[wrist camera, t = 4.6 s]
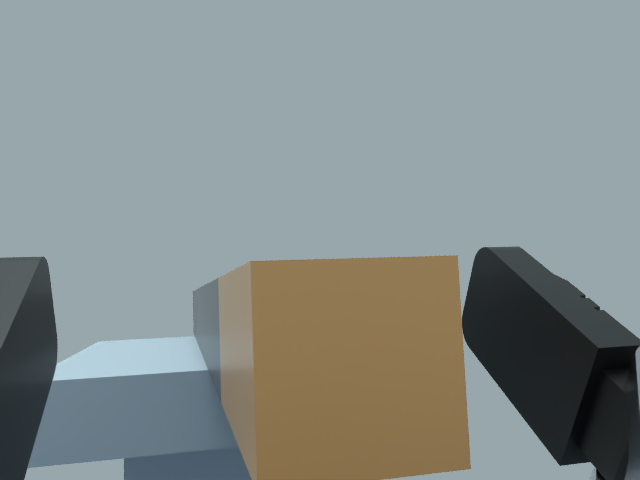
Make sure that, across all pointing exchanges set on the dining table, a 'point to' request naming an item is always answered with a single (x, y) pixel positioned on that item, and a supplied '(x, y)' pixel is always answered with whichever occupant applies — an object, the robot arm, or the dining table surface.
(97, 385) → the tall stand
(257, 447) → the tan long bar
